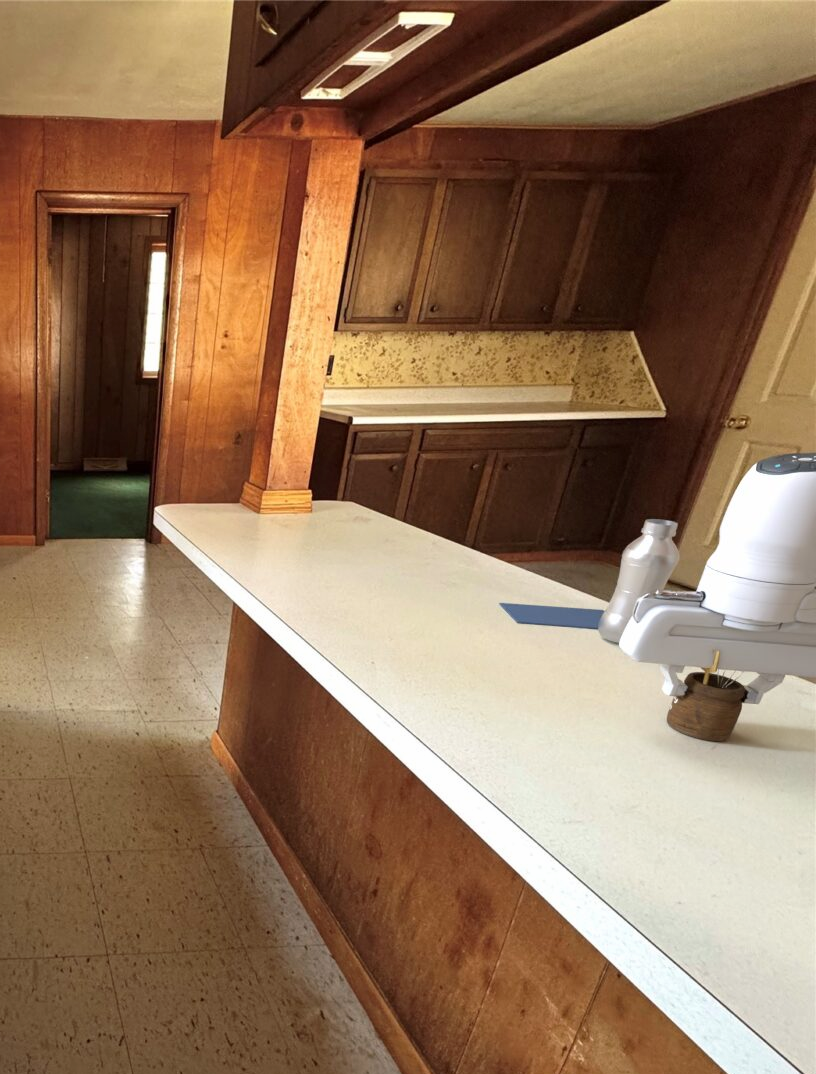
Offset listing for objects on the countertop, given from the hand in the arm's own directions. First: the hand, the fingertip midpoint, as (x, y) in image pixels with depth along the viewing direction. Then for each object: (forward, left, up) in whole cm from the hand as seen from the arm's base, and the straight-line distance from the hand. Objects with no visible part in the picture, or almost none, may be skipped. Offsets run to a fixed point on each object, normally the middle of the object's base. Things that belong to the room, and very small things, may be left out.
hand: (708, 698), depth 82 cm
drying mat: (+1, -37, -5) cm, 37 cm away
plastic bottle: (-4, -28, -5) cm, 29 cm away
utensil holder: (0, 0, -5) cm, 5 cm away
